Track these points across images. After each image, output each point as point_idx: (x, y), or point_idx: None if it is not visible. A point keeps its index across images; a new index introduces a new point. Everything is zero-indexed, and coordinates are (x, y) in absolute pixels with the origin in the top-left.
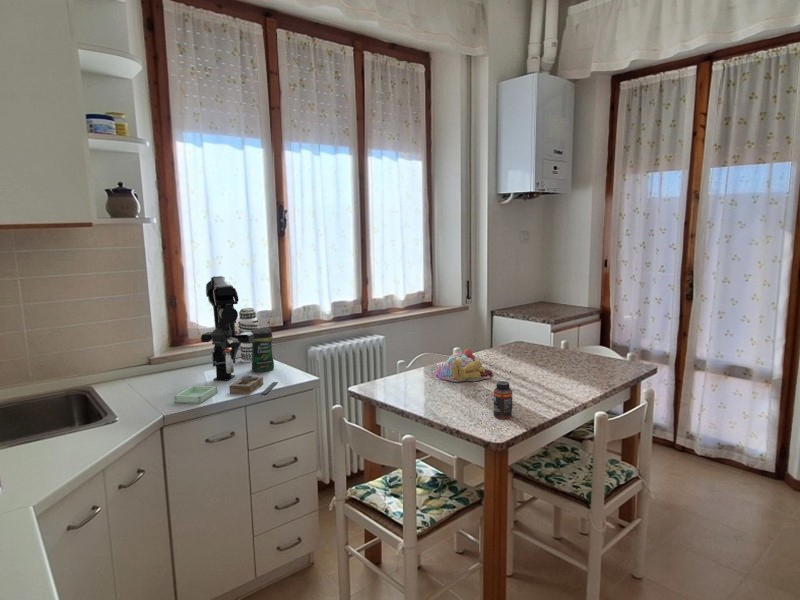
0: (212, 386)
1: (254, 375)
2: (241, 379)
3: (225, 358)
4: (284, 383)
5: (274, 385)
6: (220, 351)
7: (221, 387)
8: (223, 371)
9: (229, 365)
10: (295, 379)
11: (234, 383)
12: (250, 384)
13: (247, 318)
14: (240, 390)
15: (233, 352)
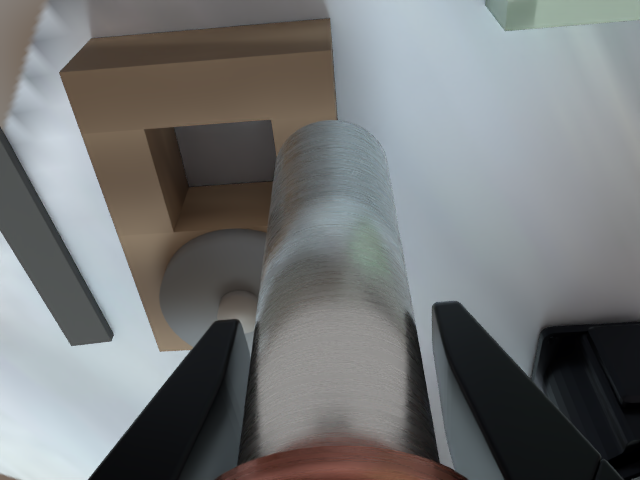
0: (568, 14)
1: None
2: None
3: (434, 342)
4: (16, 339)
5: (29, 277)
6: (585, 463)
7: (523, 175)
8: (607, 392)
9: (299, 204)
10: (11, 413)
11: None
12: (99, 137)
13: None
14: (191, 42)
15: (119, 466)
